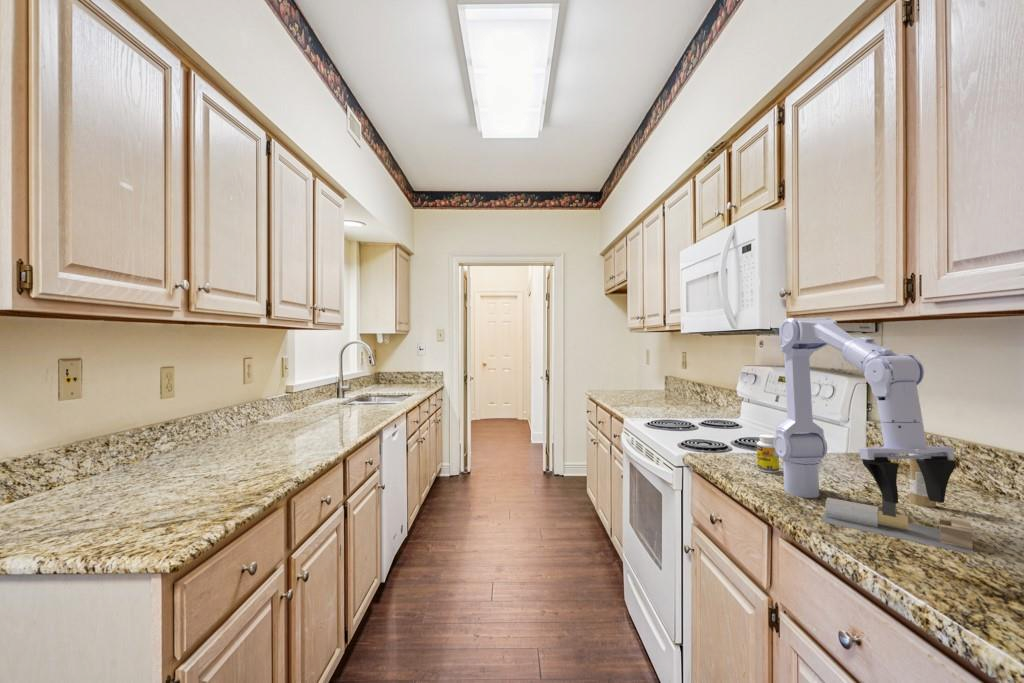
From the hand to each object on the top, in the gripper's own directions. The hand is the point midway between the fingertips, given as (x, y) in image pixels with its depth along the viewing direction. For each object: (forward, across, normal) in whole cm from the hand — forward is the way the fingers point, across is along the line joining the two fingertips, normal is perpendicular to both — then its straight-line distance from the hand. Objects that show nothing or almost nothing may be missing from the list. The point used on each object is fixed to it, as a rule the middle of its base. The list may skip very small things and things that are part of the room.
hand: (913, 501), depth 75 cm
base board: (+8, +5, +13) cm, 16 cm away
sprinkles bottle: (+7, +22, +25) cm, 34 cm away
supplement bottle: (+2, +3, +54) cm, 54 cm away
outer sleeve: (+7, 0, +17) cm, 18 cm away
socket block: (+8, +12, +7) cm, 16 cm away
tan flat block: (+7, +2, +15) cm, 17 cm away
